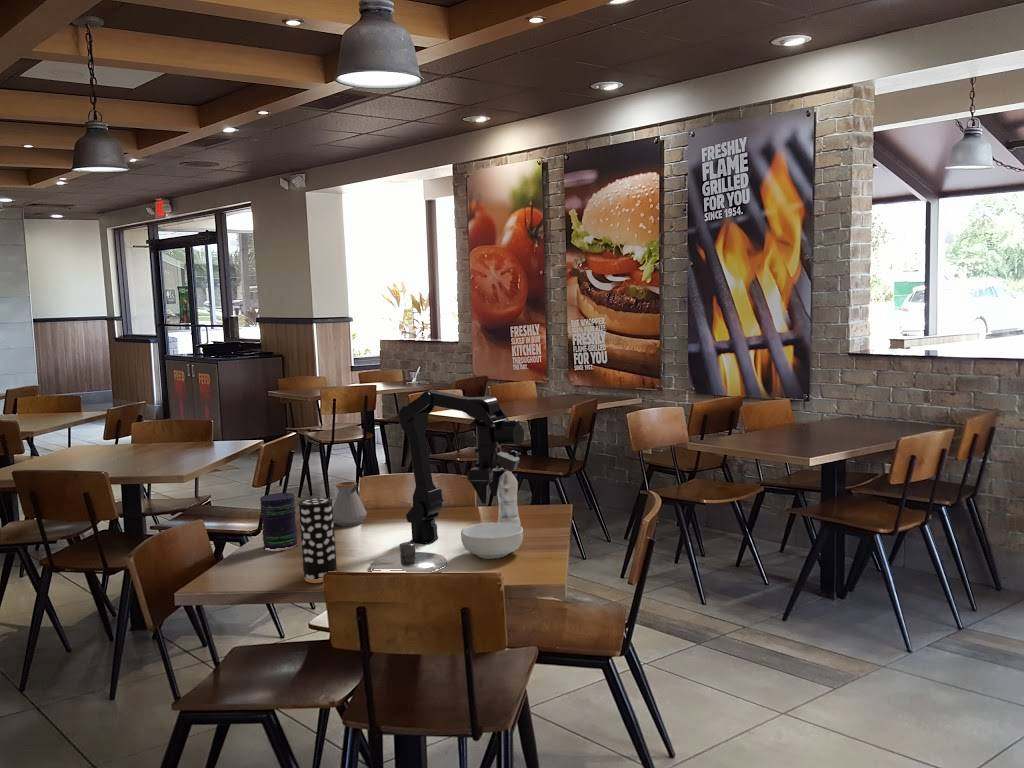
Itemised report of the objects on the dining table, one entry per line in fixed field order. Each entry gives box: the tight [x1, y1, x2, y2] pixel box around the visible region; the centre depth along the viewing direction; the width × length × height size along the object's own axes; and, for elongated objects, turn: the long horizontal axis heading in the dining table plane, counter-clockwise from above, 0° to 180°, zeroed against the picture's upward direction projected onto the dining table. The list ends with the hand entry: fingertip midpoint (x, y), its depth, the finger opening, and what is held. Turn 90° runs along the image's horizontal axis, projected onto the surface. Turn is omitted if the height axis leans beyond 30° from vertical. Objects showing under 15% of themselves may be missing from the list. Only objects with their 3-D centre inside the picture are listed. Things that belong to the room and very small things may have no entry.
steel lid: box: [369, 541, 448, 572], centre depth 240 cm, size 20×20×6 cm
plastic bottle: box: [497, 468, 521, 526], centre depth 268 cm, size 6×7×20 cm
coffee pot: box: [332, 481, 368, 527], centre depth 285 cm, size 21×12×15 cm, turn 23°
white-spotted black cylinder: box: [297, 497, 338, 579], centre depth 231 cm, size 8×8×20 cm
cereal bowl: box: [460, 522, 524, 560], centre depth 246 cm, size 17×17×7 cm
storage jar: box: [259, 492, 299, 549], centre depth 265 cm, size 10×10×15 cm
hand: (489, 499), depth 251 cm, fingers open, 9 cm apart
